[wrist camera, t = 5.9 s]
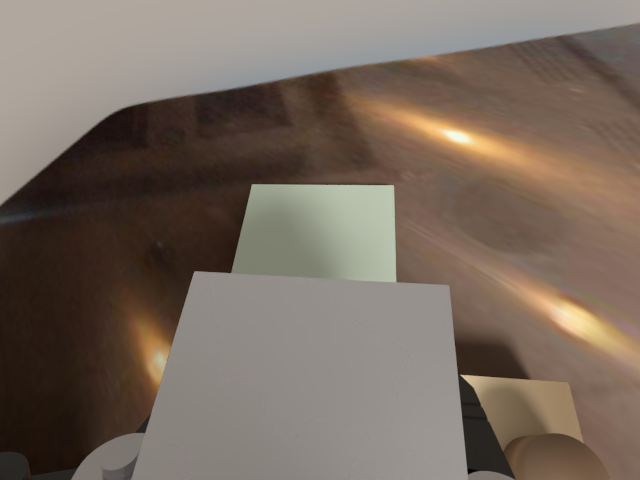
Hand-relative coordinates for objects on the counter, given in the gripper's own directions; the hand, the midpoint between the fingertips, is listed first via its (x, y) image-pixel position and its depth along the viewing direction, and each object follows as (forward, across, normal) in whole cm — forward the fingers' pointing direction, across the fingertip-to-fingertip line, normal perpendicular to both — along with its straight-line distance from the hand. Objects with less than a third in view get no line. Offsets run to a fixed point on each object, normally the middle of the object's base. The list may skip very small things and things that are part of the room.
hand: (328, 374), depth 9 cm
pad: (+14, +2, 0) cm, 15 cm away
